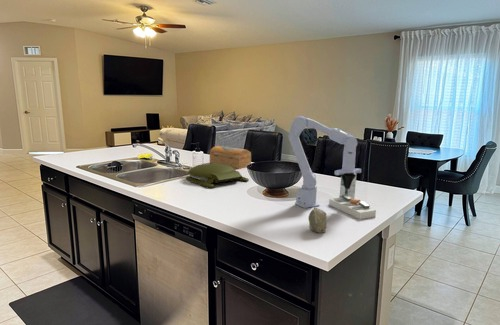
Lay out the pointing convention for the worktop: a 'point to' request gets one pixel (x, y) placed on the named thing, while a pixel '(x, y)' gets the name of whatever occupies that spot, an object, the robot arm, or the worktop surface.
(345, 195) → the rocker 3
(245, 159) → the wooden box
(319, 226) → the mottled olive rock
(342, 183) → the syrup box
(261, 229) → the worktop surface
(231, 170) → the folded olive dish cloth
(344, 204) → the white tray
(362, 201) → the rocker
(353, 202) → the rocker
